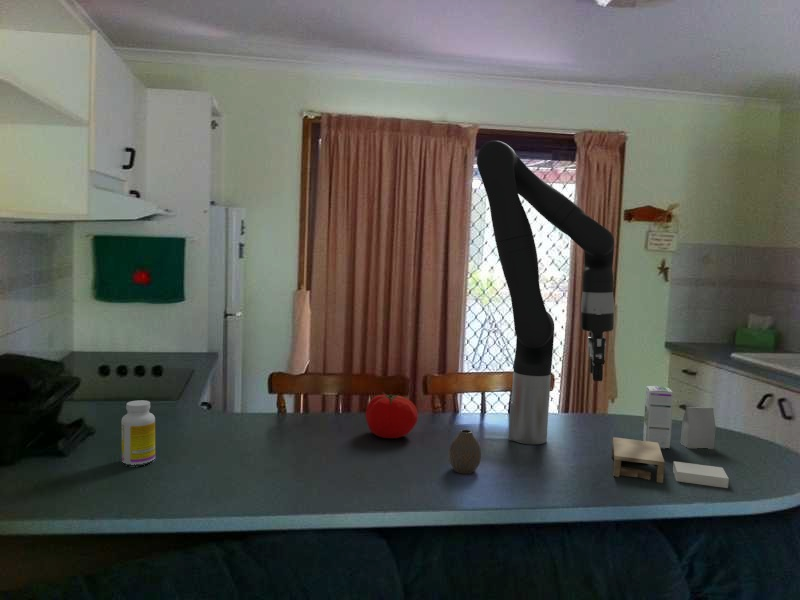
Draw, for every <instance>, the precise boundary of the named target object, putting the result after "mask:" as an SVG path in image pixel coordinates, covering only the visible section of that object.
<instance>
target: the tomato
mask: <svg viewBox="0 0 800 600" xmlns="http://www.w3.org/2000/svg"><path fill="white" fill-rule="evenodd" d="M381 393H382V394H378V395H376V396H374V397H373V398H372V399H371V400H370V401H369V403H368V405H367V407H366V409H365V410H366V411H365V419H366V423H367V426H368V428H369V431H370V432H371V433H373V435H376V436H377V437H380V438H383V439H394V438H395V439H398V438H401V437H404V436H406V435H408V434H409V433H411V431H412V430H413V429H414V428H415V426H416V424H417V423H418V419H419V415H418V410H417V407H416V405H415V404H414V403H413V401H411V400H410V399H408V398H406V397H404V396H401V395H399V394H396V395H393V394H386V393H385V392H383V391H381Z"/></svg>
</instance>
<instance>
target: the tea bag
mask: <svg viewBox="0 0 800 600" xmlns="http://www.w3.org/2000/svg"><path fill="white" fill-rule="evenodd" d="M716 426H717V425H716V419H715V411H714V408H713V407H700V406H699V407H696V406H694V407H693V406H686V407H685V412H684V414H683V417H682V420H681V431H680V443H681V444H680V443H679V444H680V445H682V446H683V445H684V446H683V447H685V448H686V447H687V448H686V449H697V448H708V449H707V450H714V449H715V447H714V446H715V435H716V428H717V427H716Z"/></svg>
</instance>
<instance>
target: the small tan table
mask: <svg viewBox="0 0 800 600" xmlns="http://www.w3.org/2000/svg"><path fill="white" fill-rule="evenodd" d="M611 445H612V446H611V458H613V472H612V476H613V477H614V476H615V478H620V476H624V477H631V478H640V479H644V480H647V479H648V481H650V480H651V477H652V472H651V471H649V470H643V469H641V468H640V469H639V468H634V467H627V466H622V462H625V461H626V462H627V463H633V464H634V463H636V464H637V463H640V464H641V463H642V464H648V465H656V466H657V467H656V483H660V484H663V483H664V472H665V459H664V457H663V454H662V450H661V448H660V447H659V444H658V442H649V441H643V440H639V439H632V438H631V439H630V438H624V437H615V436H612V443H611Z"/></svg>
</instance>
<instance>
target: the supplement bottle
mask: <svg viewBox="0 0 800 600" xmlns="http://www.w3.org/2000/svg"><path fill="white" fill-rule="evenodd" d="M125 408H126V409H125V410H126V411H127V413H126V414H125V415H123V416H122V418H121V420H120V421H121V423H120V424H121V463H122V462H123V463H126V464H131V465H134V464H135V465H136V464H143V463H147V462H150V461H152V460H154V459H155V460H156V417H155V415H154V414H153V413H151V412H150V409H151V402H150V401H149V400H142V399H141V400H138V399H137V400H132V401H131V400H130V401H128V402H127V403H126V405H125ZM155 460H154V461H155ZM123 463H122V464H123Z"/></svg>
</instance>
